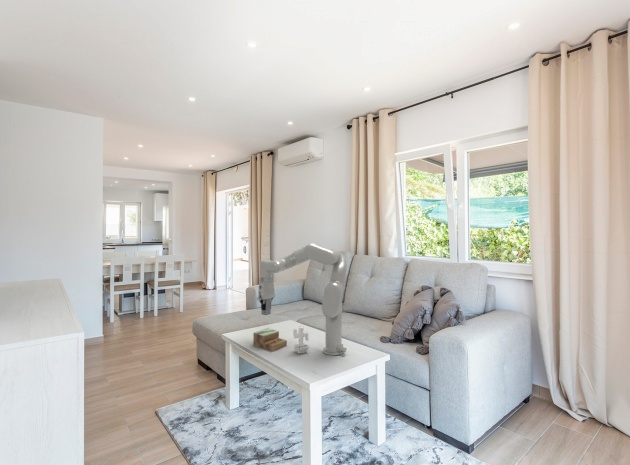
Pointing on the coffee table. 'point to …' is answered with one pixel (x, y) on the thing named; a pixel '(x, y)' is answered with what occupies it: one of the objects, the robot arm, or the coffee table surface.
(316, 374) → the coffee table surface
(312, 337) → the coffee table surface
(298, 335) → the figurine
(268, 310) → the column
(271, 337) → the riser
